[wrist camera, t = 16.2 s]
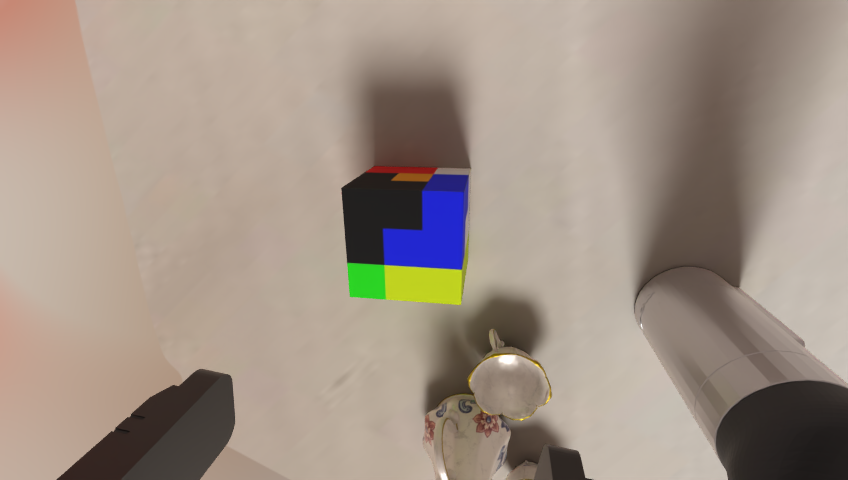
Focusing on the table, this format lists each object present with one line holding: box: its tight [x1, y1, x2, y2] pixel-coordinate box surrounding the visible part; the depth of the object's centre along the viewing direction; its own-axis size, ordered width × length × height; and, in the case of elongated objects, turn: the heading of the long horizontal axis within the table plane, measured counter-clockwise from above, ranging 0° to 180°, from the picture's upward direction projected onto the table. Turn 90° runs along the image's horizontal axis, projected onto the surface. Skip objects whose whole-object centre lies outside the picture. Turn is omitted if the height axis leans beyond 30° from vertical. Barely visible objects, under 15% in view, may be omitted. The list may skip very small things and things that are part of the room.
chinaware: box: [423, 329, 552, 480], centre depth 45 cm, size 28×17×17 cm, turn 19°
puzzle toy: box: [341, 166, 471, 305], centre depth 39 cm, size 10×10×10 cm
